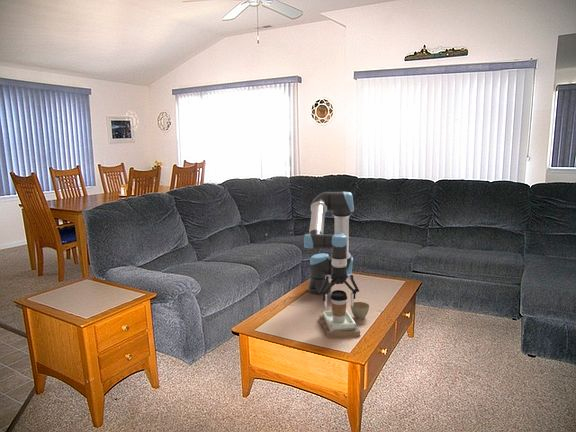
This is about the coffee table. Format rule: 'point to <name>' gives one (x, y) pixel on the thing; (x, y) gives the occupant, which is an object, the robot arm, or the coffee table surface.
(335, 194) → the robot arm
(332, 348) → the coffee table surface
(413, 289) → the coffee table surface
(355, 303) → the flower pot
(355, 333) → the shelf board
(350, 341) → the coffee table surface
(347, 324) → the tray
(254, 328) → the coffee table surface
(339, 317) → the coffee cup
